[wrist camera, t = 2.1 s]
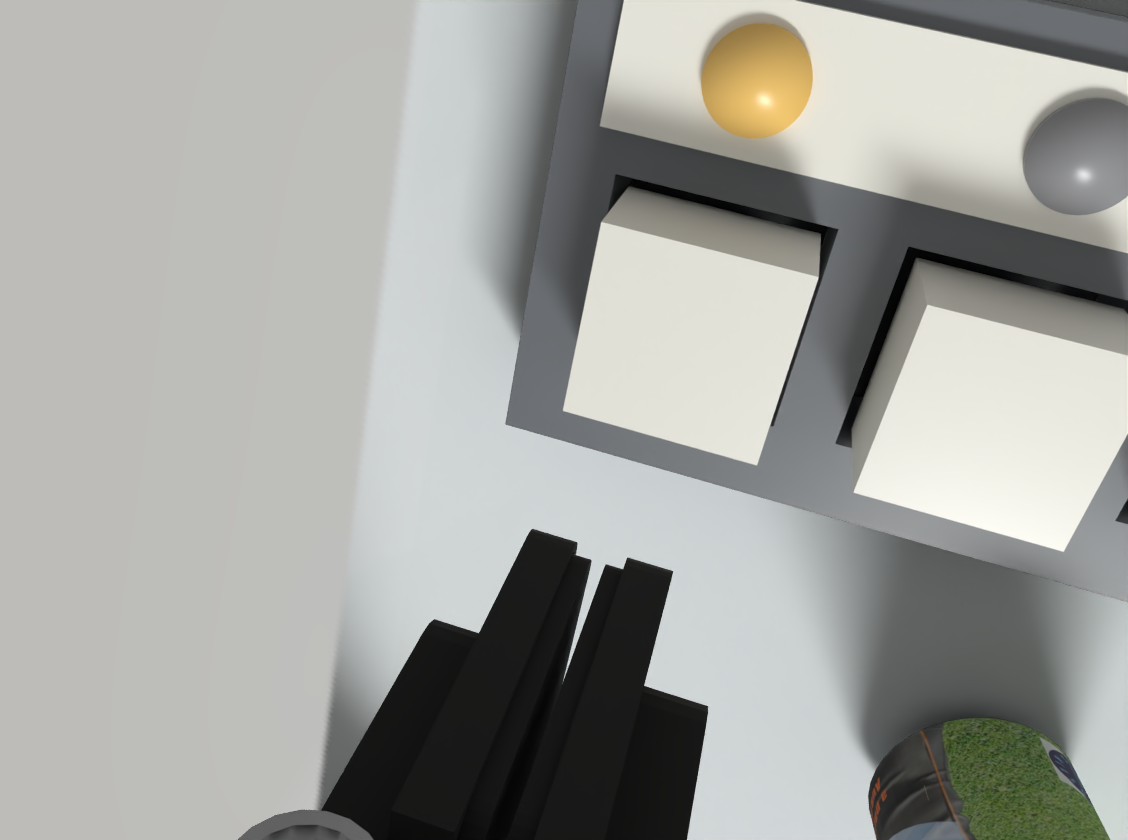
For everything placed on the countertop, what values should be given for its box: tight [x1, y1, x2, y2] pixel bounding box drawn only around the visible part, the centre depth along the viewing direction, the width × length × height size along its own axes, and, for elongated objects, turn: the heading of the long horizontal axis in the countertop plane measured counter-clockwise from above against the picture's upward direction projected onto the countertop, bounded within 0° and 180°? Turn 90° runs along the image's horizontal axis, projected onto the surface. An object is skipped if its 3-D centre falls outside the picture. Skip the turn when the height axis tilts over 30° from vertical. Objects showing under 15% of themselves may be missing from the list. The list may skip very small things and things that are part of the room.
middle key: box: [851, 257, 1128, 552], centre depth 21 cm, size 4×4×3 cm
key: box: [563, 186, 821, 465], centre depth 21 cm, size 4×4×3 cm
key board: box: [506, 0, 1128, 602], centre depth 22 cm, size 12×21×4 cm, turn 80°
